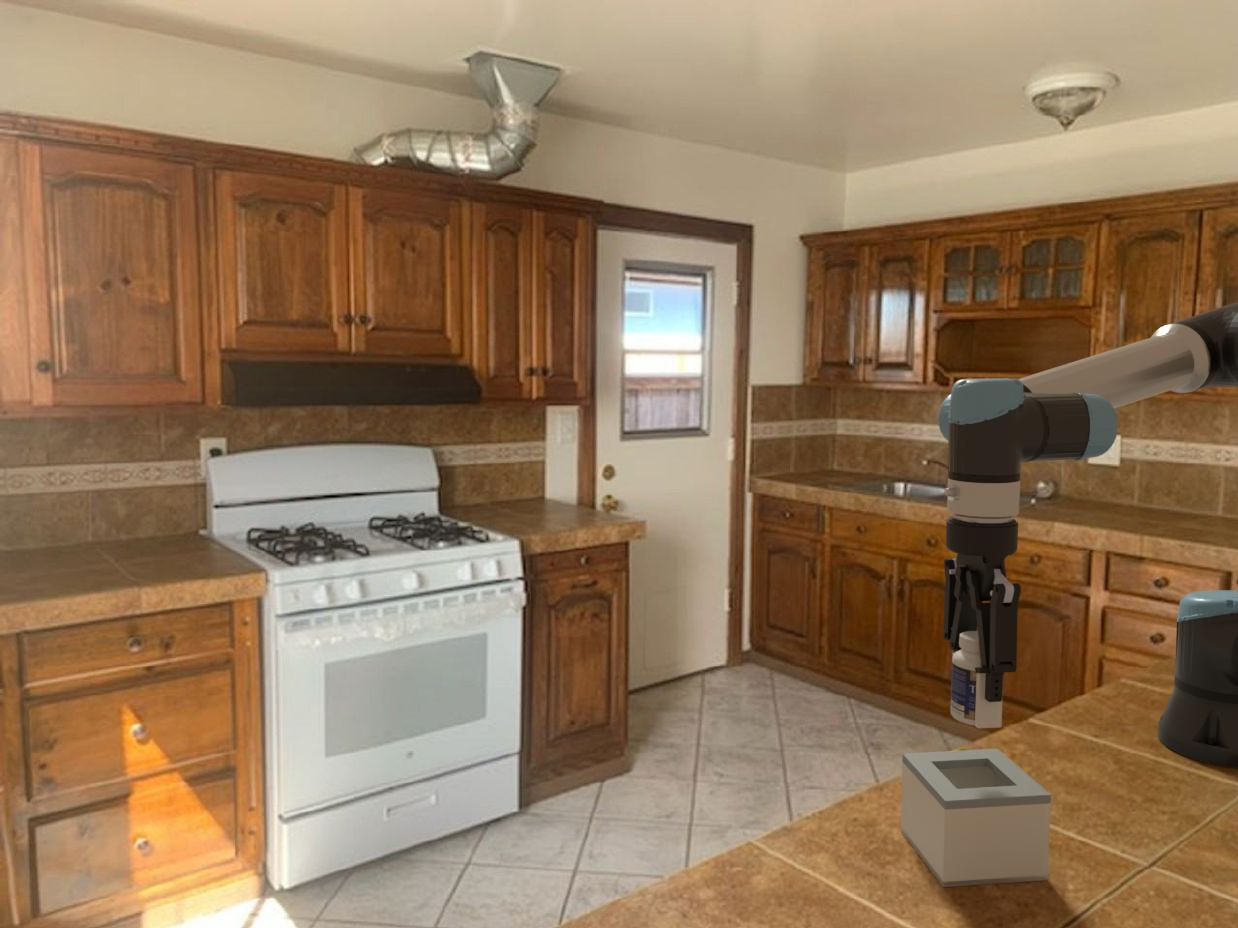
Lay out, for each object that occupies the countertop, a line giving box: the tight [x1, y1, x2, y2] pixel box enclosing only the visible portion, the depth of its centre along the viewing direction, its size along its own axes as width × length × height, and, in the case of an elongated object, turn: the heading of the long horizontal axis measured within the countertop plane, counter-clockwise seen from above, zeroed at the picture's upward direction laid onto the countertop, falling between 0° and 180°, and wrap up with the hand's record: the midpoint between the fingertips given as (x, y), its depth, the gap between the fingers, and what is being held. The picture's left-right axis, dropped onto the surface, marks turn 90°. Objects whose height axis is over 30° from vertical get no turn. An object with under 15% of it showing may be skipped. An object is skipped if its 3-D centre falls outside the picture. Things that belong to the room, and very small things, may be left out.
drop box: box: [900, 748, 1052, 888], centre depth 107 cm, size 12×12×10 cm
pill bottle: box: [950, 630, 981, 726], centre depth 105 cm, size 5×5×10 cm
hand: (975, 715), depth 106 cm, fingers closed on pill bottle, 5 cm apart
